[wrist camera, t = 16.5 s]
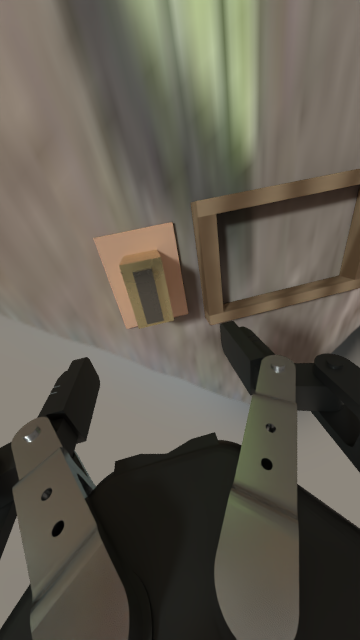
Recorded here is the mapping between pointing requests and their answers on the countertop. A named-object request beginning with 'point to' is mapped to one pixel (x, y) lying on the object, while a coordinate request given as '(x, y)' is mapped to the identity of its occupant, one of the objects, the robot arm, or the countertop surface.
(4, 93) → the countertop surface
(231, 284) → the countertop surface
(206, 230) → the open wooden frame
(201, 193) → the countertop surface
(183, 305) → the mat
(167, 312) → the lever cap
